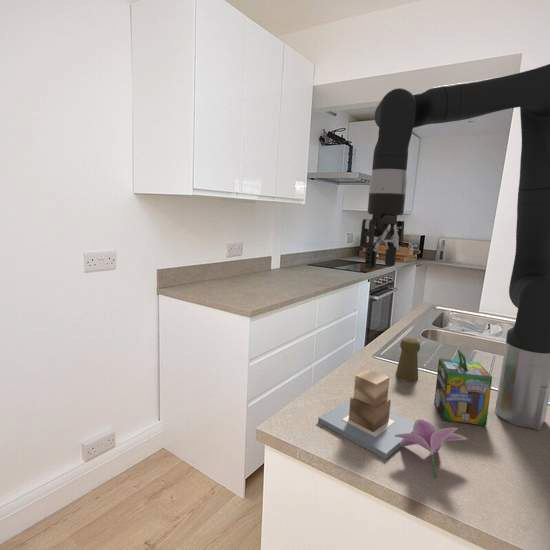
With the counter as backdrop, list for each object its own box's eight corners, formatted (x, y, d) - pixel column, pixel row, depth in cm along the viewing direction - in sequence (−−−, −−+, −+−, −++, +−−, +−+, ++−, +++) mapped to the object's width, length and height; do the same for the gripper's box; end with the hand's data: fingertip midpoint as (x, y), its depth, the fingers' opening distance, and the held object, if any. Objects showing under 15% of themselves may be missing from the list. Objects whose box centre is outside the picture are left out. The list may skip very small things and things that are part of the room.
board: (419, 430, 78) (419, 424, 77) (385, 459, 68) (386, 452, 68) (354, 400, 89) (355, 395, 89) (318, 422, 79) (318, 416, 79)
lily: (474, 473, 67) (464, 416, 70) (468, 485, 57) (457, 419, 61) (407, 468, 73) (400, 417, 76) (391, 479, 63) (384, 419, 66)
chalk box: (486, 427, 80) (496, 363, 77) (441, 421, 82) (450, 358, 79) (473, 405, 89) (481, 347, 86) (432, 400, 91) (439, 343, 88)
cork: (395, 379, 101) (399, 341, 100) (395, 370, 107) (399, 334, 105) (419, 383, 100) (423, 344, 98) (417, 374, 105) (421, 337, 104)
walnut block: (388, 421, 78) (390, 399, 77) (373, 432, 74) (375, 409, 73) (364, 409, 82) (366, 389, 81) (348, 419, 78) (350, 397, 77)
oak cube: (387, 399, 77) (389, 377, 76) (374, 407, 74) (376, 384, 73) (366, 390, 81) (368, 369, 80) (353, 397, 77) (355, 375, 77)
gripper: (386, 190, 71) (378, 272, 74) (418, 194, 81) (411, 266, 84) (353, 190, 77) (347, 267, 79) (387, 194, 86) (381, 262, 89)
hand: (380, 267), depth 82 cm, fingers open, 8 cm apart
